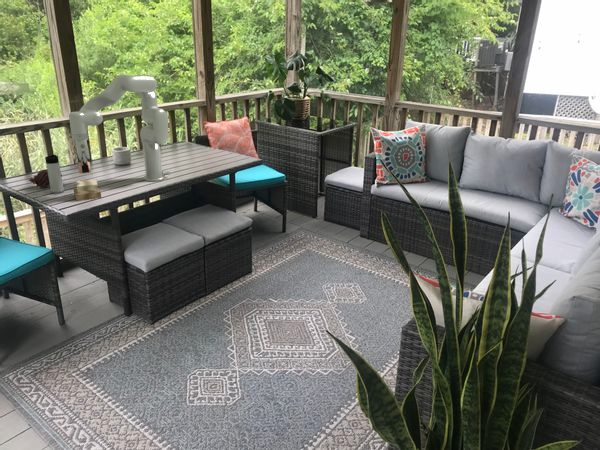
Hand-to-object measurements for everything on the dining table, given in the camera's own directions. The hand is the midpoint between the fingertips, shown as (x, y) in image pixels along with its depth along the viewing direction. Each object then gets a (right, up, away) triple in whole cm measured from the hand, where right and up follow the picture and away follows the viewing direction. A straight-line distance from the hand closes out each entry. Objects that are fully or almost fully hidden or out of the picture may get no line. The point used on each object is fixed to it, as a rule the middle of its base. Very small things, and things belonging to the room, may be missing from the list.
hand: (85, 170), depth 253 cm
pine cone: (-29, -7, +18) cm, 35 cm away
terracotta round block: (0, -1, 0) cm, 1 cm away
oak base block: (-1, -14, +5) cm, 15 cm away
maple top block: (0, -10, +4) cm, 11 cm away
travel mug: (-19, -11, +10) cm, 24 cm away
